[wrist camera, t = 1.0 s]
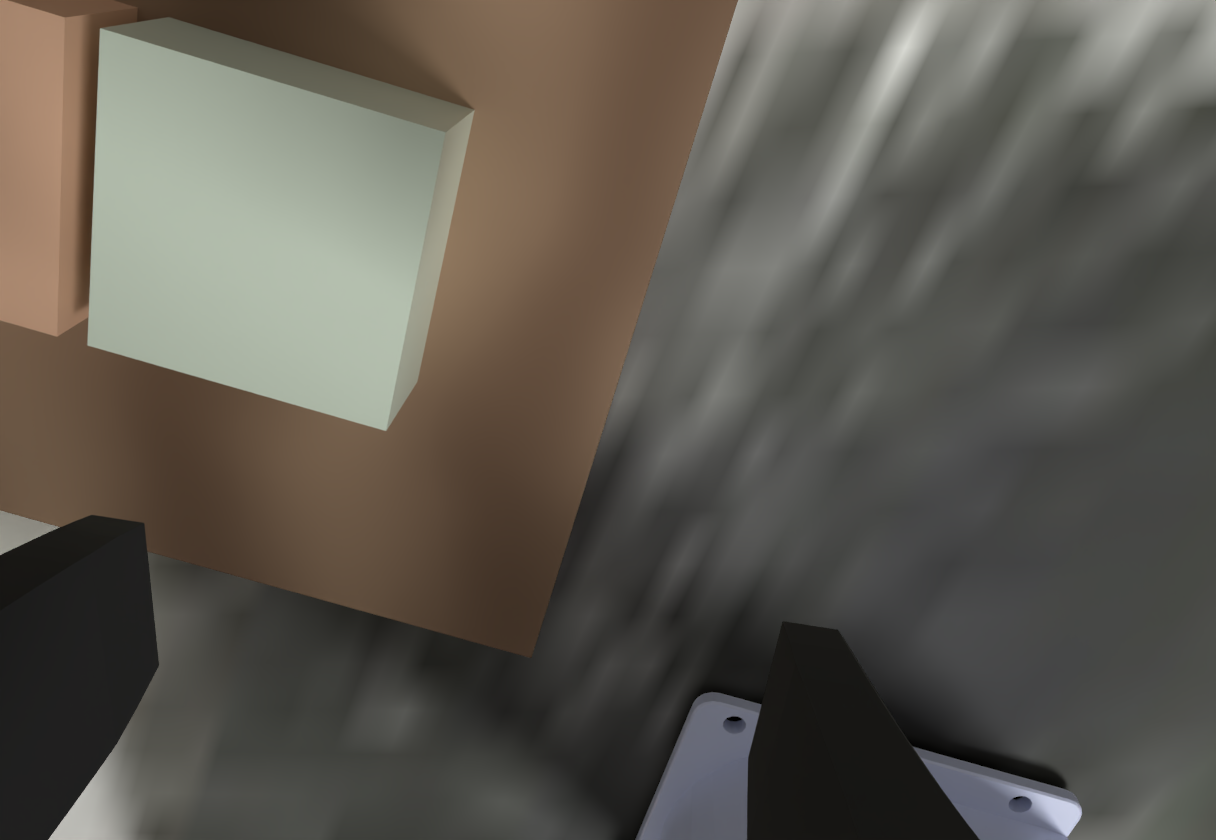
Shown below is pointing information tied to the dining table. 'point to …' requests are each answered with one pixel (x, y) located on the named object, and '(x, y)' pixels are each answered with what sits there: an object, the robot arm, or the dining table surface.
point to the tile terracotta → (49, 156)
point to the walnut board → (457, 336)
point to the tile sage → (268, 218)
